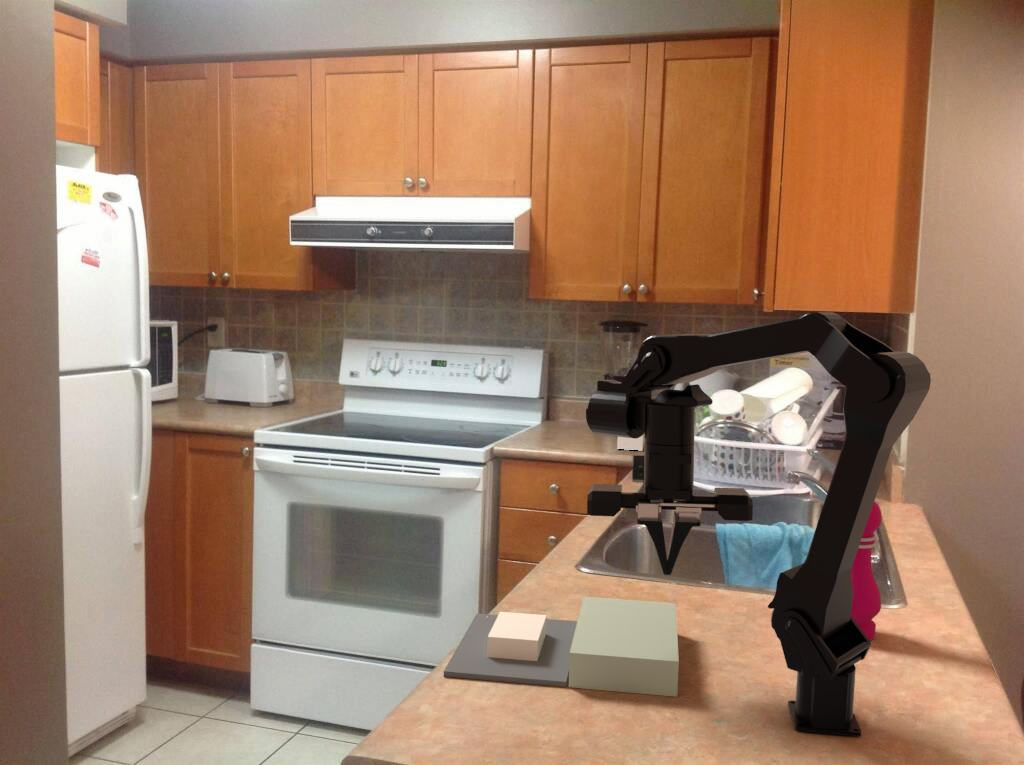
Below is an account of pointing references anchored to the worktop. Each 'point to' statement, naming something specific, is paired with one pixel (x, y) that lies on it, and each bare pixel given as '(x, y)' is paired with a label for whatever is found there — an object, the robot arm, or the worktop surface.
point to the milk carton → (630, 443)
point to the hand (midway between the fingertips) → (667, 574)
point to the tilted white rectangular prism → (517, 636)
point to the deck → (625, 647)
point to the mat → (545, 671)
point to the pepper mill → (866, 578)
